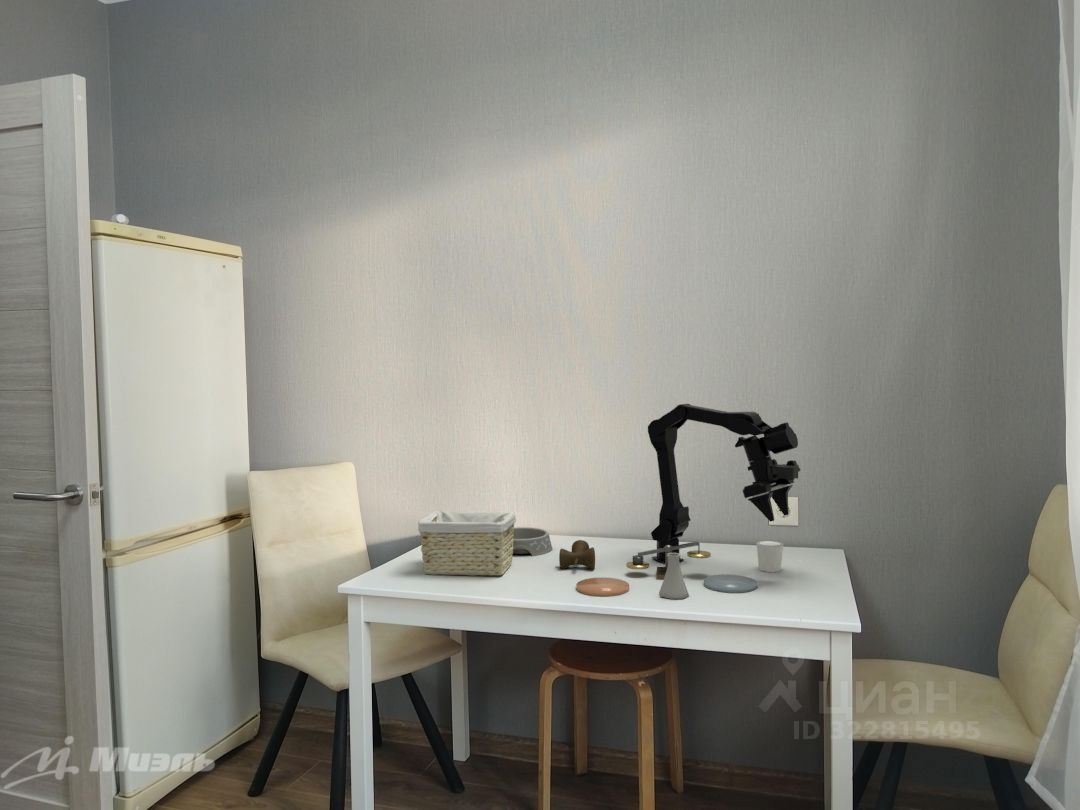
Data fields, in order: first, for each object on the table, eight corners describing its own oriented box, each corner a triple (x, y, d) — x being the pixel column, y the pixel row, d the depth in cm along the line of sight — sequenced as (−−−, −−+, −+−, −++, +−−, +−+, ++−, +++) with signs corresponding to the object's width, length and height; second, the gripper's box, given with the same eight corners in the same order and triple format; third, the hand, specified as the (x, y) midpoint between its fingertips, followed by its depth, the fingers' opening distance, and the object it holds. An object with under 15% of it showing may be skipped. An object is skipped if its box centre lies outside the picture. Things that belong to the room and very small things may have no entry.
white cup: (784, 573, 215) (784, 546, 215) (757, 572, 217) (757, 545, 216) (782, 566, 222) (782, 540, 222) (755, 565, 223) (755, 539, 223)
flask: (691, 592, 199) (691, 551, 199) (686, 601, 193) (686, 558, 192) (661, 590, 202) (661, 549, 201) (655, 598, 195) (655, 556, 194)
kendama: (597, 558, 236) (594, 575, 216) (564, 558, 237) (557, 575, 217) (597, 537, 236) (593, 552, 216) (563, 538, 237) (556, 552, 217)
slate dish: (693, 582, 208) (693, 578, 208) (733, 575, 213) (733, 571, 213) (726, 595, 196) (726, 591, 196) (768, 588, 202) (768, 584, 202)
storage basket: (416, 575, 218) (415, 520, 217) (435, 560, 234) (434, 509, 233) (505, 579, 214) (504, 522, 213) (518, 563, 230) (517, 510, 229)
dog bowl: (552, 557, 237) (552, 538, 237) (488, 558, 237) (488, 539, 237) (552, 543, 254) (552, 526, 254) (493, 544, 254) (492, 527, 254)
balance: (625, 578, 212) (625, 543, 212) (627, 570, 220) (626, 536, 220) (711, 580, 209) (711, 545, 208) (710, 572, 217) (709, 538, 216)
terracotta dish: (567, 585, 206) (567, 581, 206) (611, 578, 212) (611, 575, 212) (593, 599, 195) (593, 595, 195) (639, 591, 201) (639, 587, 200)
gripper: (773, 454, 199) (794, 516, 197) (802, 446, 214) (822, 504, 212) (733, 466, 206) (753, 527, 204) (763, 458, 221) (782, 514, 218)
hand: (779, 518), depth 209 cm, fingers open, 9 cm apart
